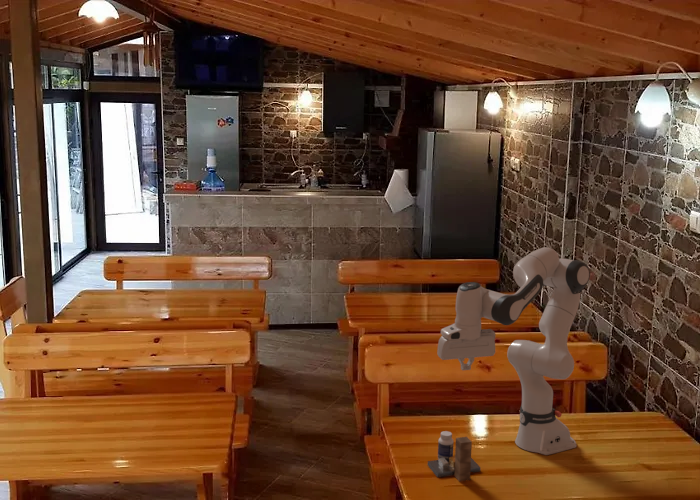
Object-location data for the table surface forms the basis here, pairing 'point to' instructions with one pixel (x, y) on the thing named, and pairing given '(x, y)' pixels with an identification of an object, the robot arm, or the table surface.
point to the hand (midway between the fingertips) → (465, 369)
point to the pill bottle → (445, 445)
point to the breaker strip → (448, 466)
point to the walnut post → (463, 458)
